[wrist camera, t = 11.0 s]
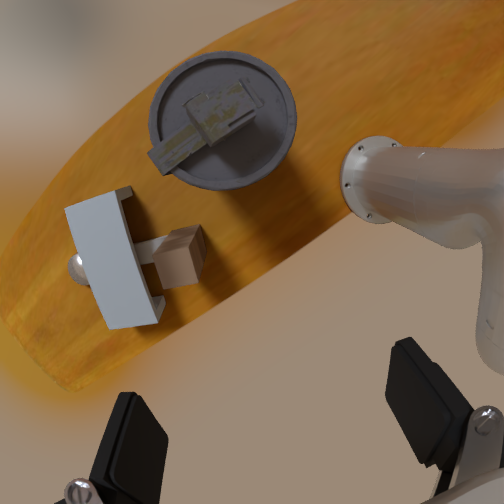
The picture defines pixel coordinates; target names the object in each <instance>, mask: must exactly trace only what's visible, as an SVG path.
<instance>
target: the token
mask: <svg viewBox="0 0 504 504" xmlns="http://www.w3.org/2000/svg"><path fill="white" fill-rule="evenodd" d="M68 271H69V274H70V276H71V277H72V279H73V280H74V281H75V282H77V283H78V284H81V285H89V282H88V279H87V276H86V274H85V271H84V268H83V266H82V263H81V260H80V257H79V254H78V252H77V253H76V254H75V255H74V256H72V257H71V258H70V260H69V262H68Z"/></svg>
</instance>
